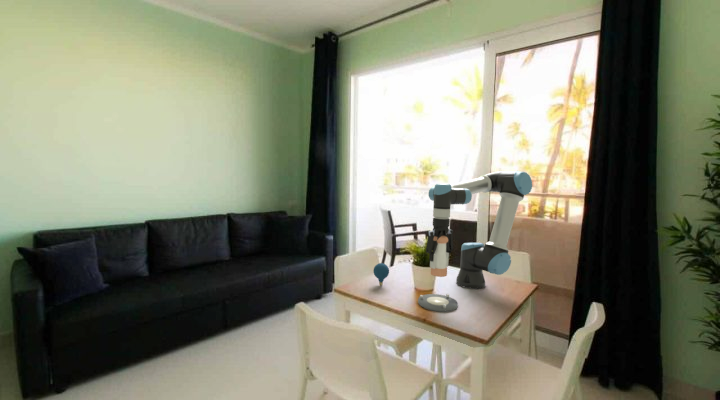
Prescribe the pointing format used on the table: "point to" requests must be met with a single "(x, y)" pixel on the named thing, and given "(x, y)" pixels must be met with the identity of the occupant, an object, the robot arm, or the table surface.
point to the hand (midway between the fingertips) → (439, 266)
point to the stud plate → (437, 302)
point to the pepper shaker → (440, 257)
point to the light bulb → (381, 272)
